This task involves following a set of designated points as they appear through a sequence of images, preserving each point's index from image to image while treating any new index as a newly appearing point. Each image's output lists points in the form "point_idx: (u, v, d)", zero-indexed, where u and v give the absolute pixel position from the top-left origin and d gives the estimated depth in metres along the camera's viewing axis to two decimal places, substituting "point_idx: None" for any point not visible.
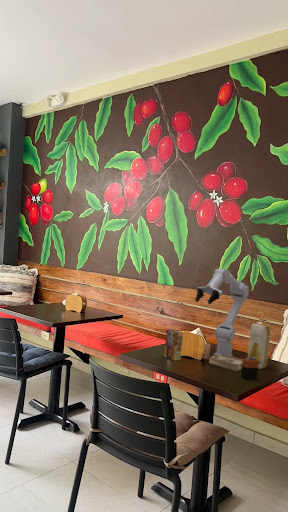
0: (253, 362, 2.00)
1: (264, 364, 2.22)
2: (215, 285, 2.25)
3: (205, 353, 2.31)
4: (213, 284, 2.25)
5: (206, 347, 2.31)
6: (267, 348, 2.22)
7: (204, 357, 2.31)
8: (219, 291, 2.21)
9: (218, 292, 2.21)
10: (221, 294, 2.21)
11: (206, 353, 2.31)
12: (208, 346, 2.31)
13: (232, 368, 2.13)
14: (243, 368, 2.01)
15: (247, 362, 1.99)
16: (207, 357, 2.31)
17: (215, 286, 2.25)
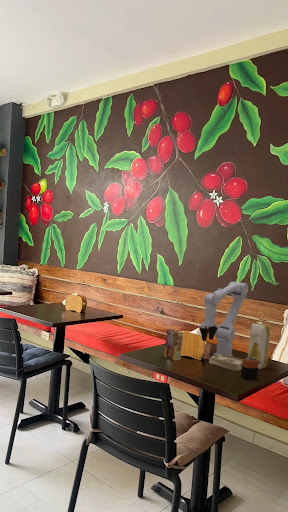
0: (253, 362, 2.00)
1: (264, 364, 2.22)
2: (205, 318, 2.31)
3: (205, 353, 2.31)
4: (204, 319, 2.32)
5: (206, 347, 2.31)
6: (267, 348, 2.22)
7: (204, 357, 2.31)
8: None
9: None
10: (203, 327, 2.26)
11: (206, 353, 2.31)
12: (208, 346, 2.31)
13: (232, 368, 2.13)
14: (243, 368, 2.01)
15: (247, 362, 1.99)
16: (207, 357, 2.31)
17: (205, 319, 2.31)
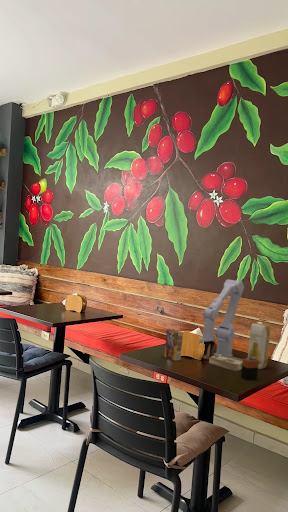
0: (253, 362, 2.00)
1: (264, 364, 2.22)
2: (203, 333, 2.32)
3: None
4: (203, 333, 2.33)
5: None
6: (267, 348, 2.22)
7: (204, 357, 2.31)
8: None
9: None
10: (201, 342, 2.26)
11: None
12: None
13: (232, 368, 2.13)
14: (243, 368, 2.01)
15: (247, 362, 1.99)
16: (207, 357, 2.31)
17: (203, 334, 2.31)
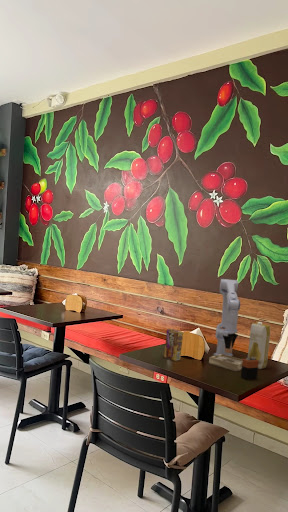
0: (253, 362, 2.00)
1: (264, 364, 2.22)
2: (226, 325, 2.20)
3: None
4: (225, 325, 2.22)
5: None
6: (267, 348, 2.22)
7: (227, 351, 2.20)
8: (224, 333, 2.17)
9: None
10: (226, 335, 2.15)
11: None
12: None
13: (232, 368, 2.13)
14: (243, 368, 2.01)
15: (247, 362, 1.99)
16: (230, 351, 2.20)
17: (227, 326, 2.20)
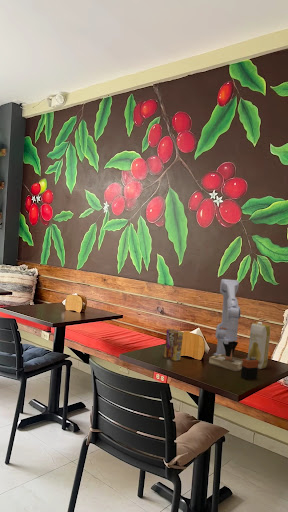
0: (253, 362, 2.00)
1: (264, 364, 2.22)
2: (227, 333, 2.20)
3: None
4: (226, 333, 2.21)
5: None
6: (267, 348, 2.22)
7: (227, 359, 2.20)
8: None
9: None
10: (226, 343, 2.15)
11: None
12: None
13: (232, 368, 2.13)
14: (243, 368, 2.01)
15: (247, 362, 1.99)
16: (230, 358, 2.20)
17: (227, 334, 2.20)
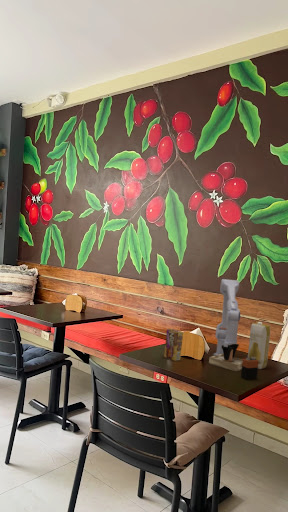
0: (253, 362, 2.00)
1: (264, 364, 2.22)
2: (226, 336, 2.20)
3: None
4: (225, 336, 2.21)
5: None
6: (267, 348, 2.22)
7: None
8: None
9: None
10: (226, 345, 2.15)
11: (229, 359, 2.20)
12: (231, 352, 2.20)
13: (232, 368, 2.13)
14: (243, 368, 2.01)
15: (247, 362, 1.99)
16: None
17: (227, 337, 2.20)
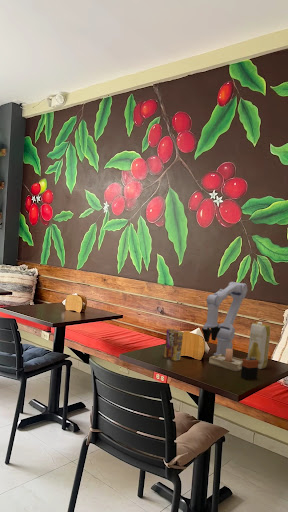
0: (253, 362, 2.00)
1: (264, 364, 2.22)
2: (207, 319, 2.31)
3: (228, 359, 2.20)
4: None
5: (229, 353, 2.20)
6: (267, 348, 2.22)
7: None
8: None
9: None
10: (205, 328, 2.26)
11: (229, 359, 2.20)
12: (231, 352, 2.20)
13: (232, 368, 2.13)
14: (243, 368, 2.01)
15: (247, 362, 1.99)
16: None
17: (207, 320, 2.31)
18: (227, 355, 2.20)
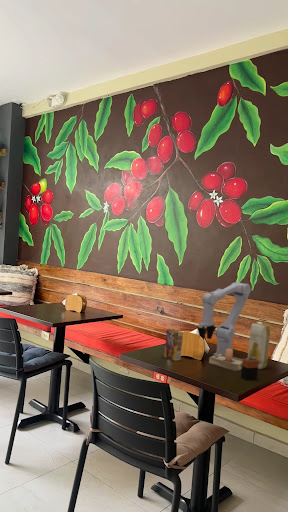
0: (253, 362, 2.00)
1: (264, 364, 2.22)
2: (202, 318, 2.33)
3: (228, 359, 2.20)
4: (202, 318, 2.35)
5: (229, 353, 2.20)
6: (267, 348, 2.22)
7: None
8: None
9: None
10: (200, 326, 2.28)
11: (229, 359, 2.20)
12: (231, 352, 2.20)
13: (232, 368, 2.13)
14: (243, 368, 2.01)
15: (247, 362, 1.99)
16: None
17: (203, 319, 2.33)
18: (227, 355, 2.20)
